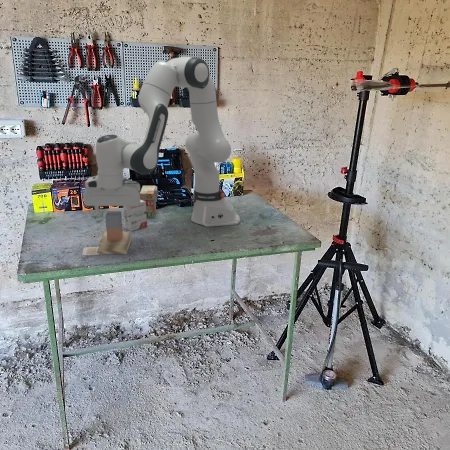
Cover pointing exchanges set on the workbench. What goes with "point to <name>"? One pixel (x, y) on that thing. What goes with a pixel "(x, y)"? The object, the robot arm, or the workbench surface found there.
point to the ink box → (136, 217)
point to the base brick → (115, 244)
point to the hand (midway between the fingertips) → (113, 216)
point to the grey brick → (113, 219)
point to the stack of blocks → (149, 199)
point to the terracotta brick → (114, 234)
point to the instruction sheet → (91, 251)
